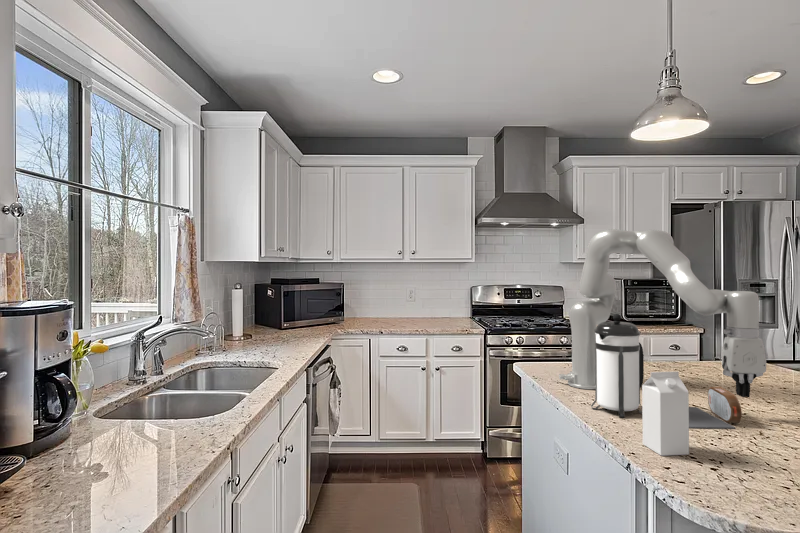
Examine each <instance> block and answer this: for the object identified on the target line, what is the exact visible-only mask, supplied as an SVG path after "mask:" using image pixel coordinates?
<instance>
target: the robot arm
mask: <svg viewBox="0 0 800 533" xmlns="http://www.w3.org/2000/svg"><path fill="white" fill-rule="evenodd" d="M611 254H617V255H619V254H621V255H642V256H644V257H645V258H646V259H647V260H648V261H650V263H651V264H653V265H654V267H655V268H656V269H658V270H659V272H660V273H662V275H664V277H665V278H666V280H667V282H668V284H669V285H670V287H671V289H672V290H673V291H674V292H675V294H676V295H677V296H678V297H679V298H680V299H681V300H682V301H683V302H684V303H685V304H686V305H687V306H688V307H689V308H690V309H691V310H693V311H694V312H695V313H696V314H699V315H702V316H713V315H716V314H717V315H718V314H726V329H724V328H723V330H722V332H723V334H725V335H726V336H725V337H724V339H723V344H722V350H721V367H722V369H723V370H722V375H724V376H726V377H730V378H732V380H733V381H734V382H735V392H736V395H737V396H740V397H742V398H750V395H751V384H753V381H754V380H755V379H756V378H760V377H762V376H764V373H766V372H767V356H766V350H765V345H764V340H763V338H760V314H759V313H760V310H759V309H760V308H759V307H760V306H759V305H760V302H759V301H760V300H759V299H760V298H759V295H758V293H756V291H748V290H732V291H731V290H724V289H716V288H715V289H712V288H711V289H709V288H708V287H707V286H706V285H705V284H704V283H703V282H702V281H701V280H699V278H698V277H697V276H696V275H695V273H694V272H693V270H692V268H691V260H690V259H689V257H687V256H686V255H685V254H684V253H683V252H682V251H681V250H679V249H678V247H677V246H675V242H674V239H673V237H672V236H671V234H670V233H668V232H666V231H664V230H657V229H649V230H642V231H641V230H624V229H616V228H615V229H613V228H612V229H606V230H602V231H599V232H597V233H596V234H594V235H593V236H592V237H591V238H590V240H589V242H588V245H587V248H586V252H585V259H584V264H583V266H582V267H583V268H582V271H581V275H580V280H579V284H578V290H579V294H580V295H581V296H583V297H584V298H587V299H588V300H581V301H577V302H575V303H574V304H573V305H572V306H571V308H570V310H569V314H568V315H569V316H568V317H569V324H570V330H571V371H569V372H568V373H567V374H564V373H560V374H558V378H559V380H564V381H567V384H568V386H570V387H573V388H577V389H583V390H595V341H596V334H595V329H596V327H597V325H598V324H600V323H602V322H608V320H609V318H610V316H611V314H612V313H611V312H612V309H613V305H614V302H615V297H616V293H617V283H616V279H615V278H614V276H612V275H611V274H610V273H608V272H609V269H610V268H609V267H610V255H611Z"/></svg>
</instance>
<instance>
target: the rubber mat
mask: <svg viewBox="0 0 800 533" xmlns="http://www.w3.org/2000/svg"><path fill="white" fill-rule="evenodd" d="M689 429H703V430H704V429H706V430H708V429H709V430H710V429H712V430H714V429H717V430H718V429H719V430H723V429H724V430H736V427H735V426H734V425H731V423H727V422H725V421H724V420H722V419H721V418H719V417H717V416H714V415H712V414H710V413H708V412H707V411H704V410H702V409H701V408H698V407H697V406H689Z"/></svg>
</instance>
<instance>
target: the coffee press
mask: <svg viewBox="0 0 800 533" xmlns="http://www.w3.org/2000/svg"><path fill="white" fill-rule="evenodd" d="M612 319H613V321H611V320H610V321H606V322H602V323H600V324H598V325H596V326H597V327H596V329H595V334H596V341H595V389H594V390H595V395H594V396H595V399H594V401H593V402H592V404H591V409H592V410H594V411H595V410H598V409H599V408H600V407H602V408H603V409H607V410H609V411H610V410H611V411H615V412H617V413H618V418H620V419H625V412H631V411H635V410H637V412H638V413H640V414H642V410H639V409H638V408H639V406H640V407H641V408H642V403H641V389H642V385H643V384H644V378H645V377H644V368H645V365H644V364H645V363H644V359H645V358H644V349H643V346H642V344H641V342H640V336H641V331H640V330H639V328H638V327H637V325H636V324H634V323H632V322H626V321H620V320H621V319H622V317H621V315H620V314H619V313H614V314H613V315H612ZM596 403H597V406H596V407H593V406H594V405H595V404H596Z"/></svg>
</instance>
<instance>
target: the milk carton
mask: <svg viewBox="0 0 800 533" xmlns="http://www.w3.org/2000/svg"><path fill="white" fill-rule="evenodd" d="M679 372H680V371H654V372H653V371H652V372H651V371H650V376H649V378H648V379H647V380H645V382H643V383H642V386H641V389H642V393H641V397H642V398H641V402H642V403H641V406H642V407H641V408H642V409H641V411H642V413H641V414H642V415H641V416H642V445H644V446H645V447H646V448H648V449H650V450H652V451H653V452H655V453H656V454H658V455H659V456H663V457H664V456H682V455H683V456H685V455H687V456H688V455H689V454H690V432H689V430H690V428H689V407H690V405H689V395H690V394H689V390H688V389H687V387H686V385H685V384H684V382H683V381H682V379H681V378H680V375H679Z"/></svg>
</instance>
